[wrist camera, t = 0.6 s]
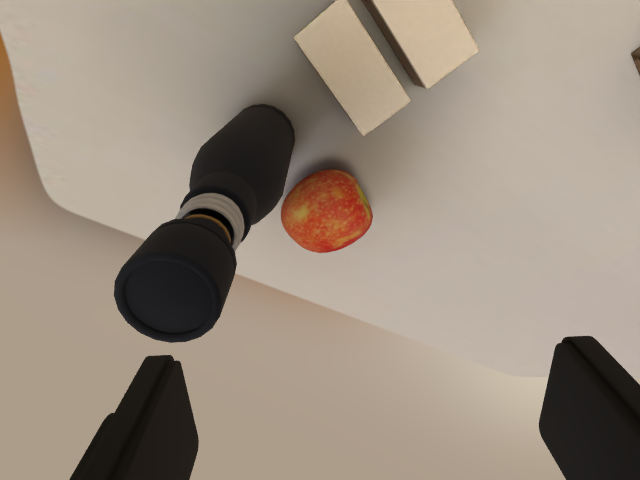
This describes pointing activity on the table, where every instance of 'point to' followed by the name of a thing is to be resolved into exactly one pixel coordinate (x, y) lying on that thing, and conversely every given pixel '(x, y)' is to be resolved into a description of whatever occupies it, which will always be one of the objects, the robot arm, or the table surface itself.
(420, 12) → the cake slice
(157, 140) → the table surface
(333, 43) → the cake
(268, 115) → the wine bottle
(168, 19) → the table surface
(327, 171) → the apple
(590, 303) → the table surface
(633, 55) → the knife block
